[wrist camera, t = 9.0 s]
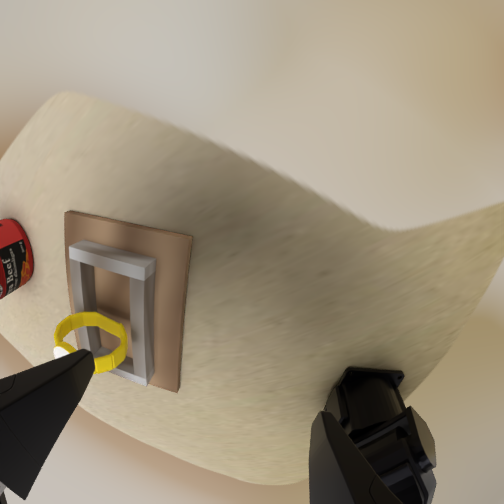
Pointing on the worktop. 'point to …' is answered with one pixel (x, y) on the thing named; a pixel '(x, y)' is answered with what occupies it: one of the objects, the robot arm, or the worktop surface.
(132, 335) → the track board
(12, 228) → the canned food
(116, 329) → the watch
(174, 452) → the worktop surface
